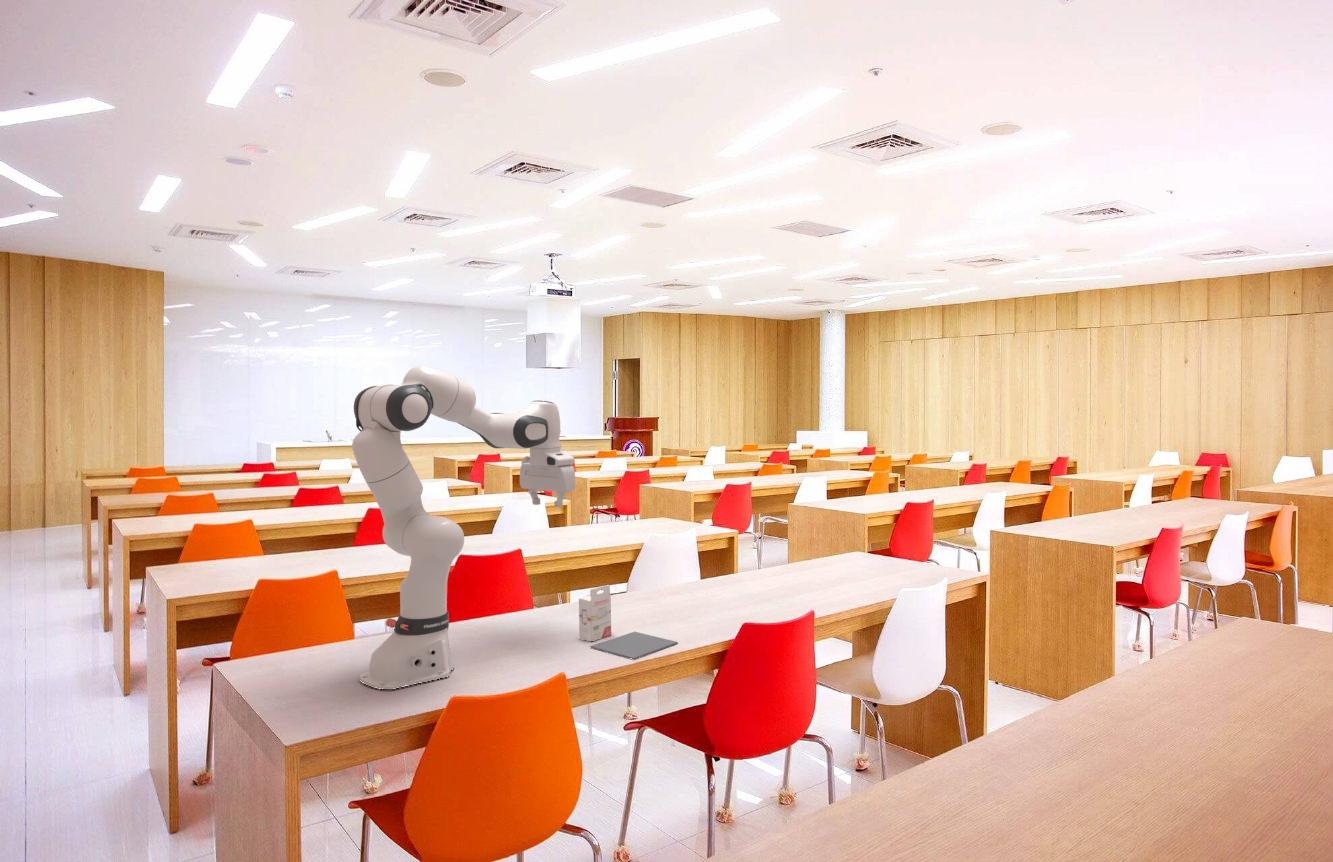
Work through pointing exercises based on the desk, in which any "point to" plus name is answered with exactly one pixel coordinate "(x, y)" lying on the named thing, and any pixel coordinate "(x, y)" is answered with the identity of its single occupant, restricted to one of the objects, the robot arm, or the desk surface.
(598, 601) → the ink cartridge box
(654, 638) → the rubber mat
